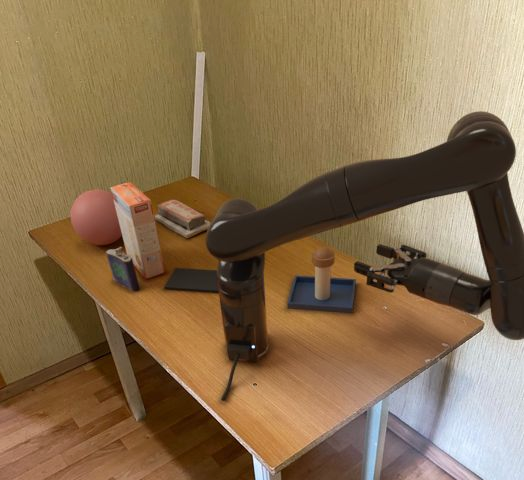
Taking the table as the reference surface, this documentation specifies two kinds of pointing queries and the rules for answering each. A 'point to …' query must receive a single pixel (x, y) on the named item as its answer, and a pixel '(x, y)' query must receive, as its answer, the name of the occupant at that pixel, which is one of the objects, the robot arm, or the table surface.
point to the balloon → (96, 217)
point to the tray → (337, 302)
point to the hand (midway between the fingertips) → (366, 257)
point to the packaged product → (181, 218)
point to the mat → (193, 280)
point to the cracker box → (138, 229)
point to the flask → (122, 269)
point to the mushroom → (322, 271)
